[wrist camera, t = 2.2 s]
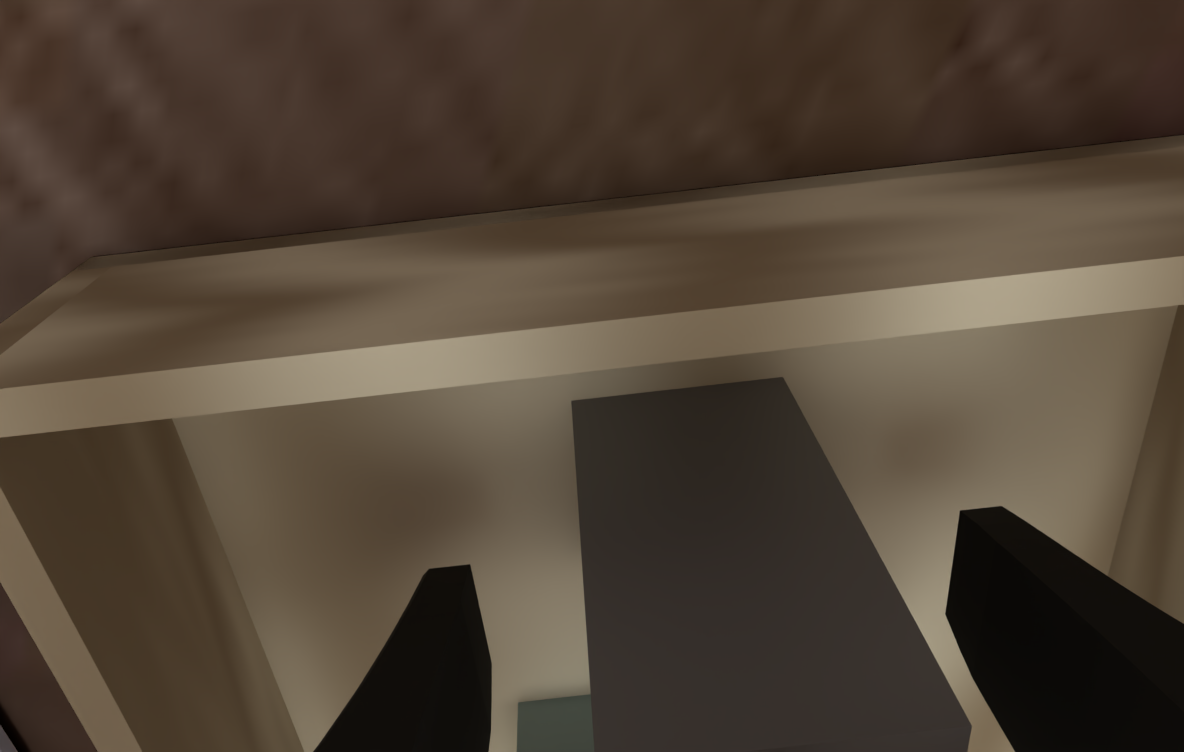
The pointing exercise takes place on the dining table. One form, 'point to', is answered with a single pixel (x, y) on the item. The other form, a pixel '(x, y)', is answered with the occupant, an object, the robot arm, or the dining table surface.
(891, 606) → the plug
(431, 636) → the robot arm
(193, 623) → the walled box
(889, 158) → the dining table surface
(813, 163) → the dining table surface
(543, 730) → the socket
